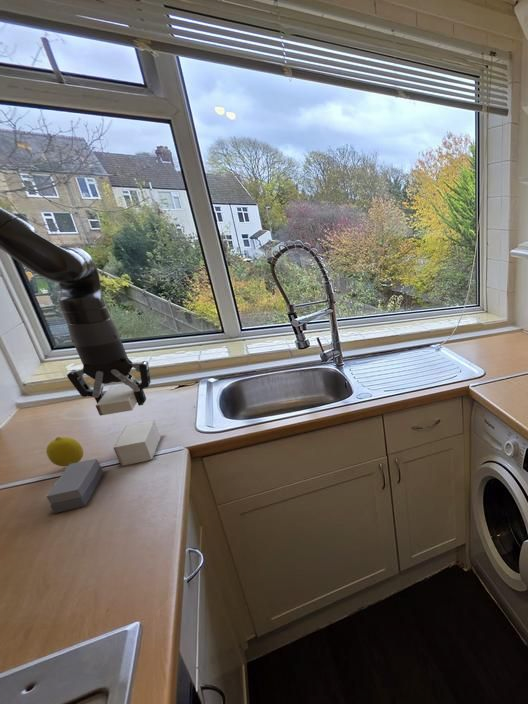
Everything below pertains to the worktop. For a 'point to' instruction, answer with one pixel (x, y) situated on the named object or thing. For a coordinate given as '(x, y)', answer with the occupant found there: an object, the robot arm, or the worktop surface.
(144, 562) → the worktop surface
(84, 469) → the gray block
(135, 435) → the white block
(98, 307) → the robot arm
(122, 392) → the cream flat slab
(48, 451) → the lemon
